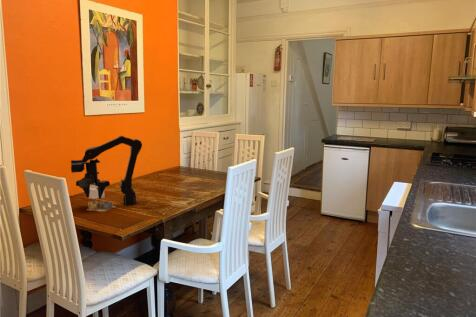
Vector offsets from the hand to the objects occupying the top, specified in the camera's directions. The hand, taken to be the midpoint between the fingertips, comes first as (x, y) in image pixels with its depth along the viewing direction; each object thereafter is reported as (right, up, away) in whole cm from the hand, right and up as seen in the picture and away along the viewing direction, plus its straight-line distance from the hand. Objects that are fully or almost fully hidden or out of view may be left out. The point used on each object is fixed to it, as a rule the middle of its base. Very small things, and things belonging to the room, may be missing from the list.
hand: (93, 198), depth 205 cm
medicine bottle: (-8, -3, +25) cm, 26 cm away
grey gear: (+7, -5, +1) cm, 9 cm away
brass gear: (0, -5, +1) cm, 6 cm away
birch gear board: (+4, -7, 0) cm, 8 cm away
